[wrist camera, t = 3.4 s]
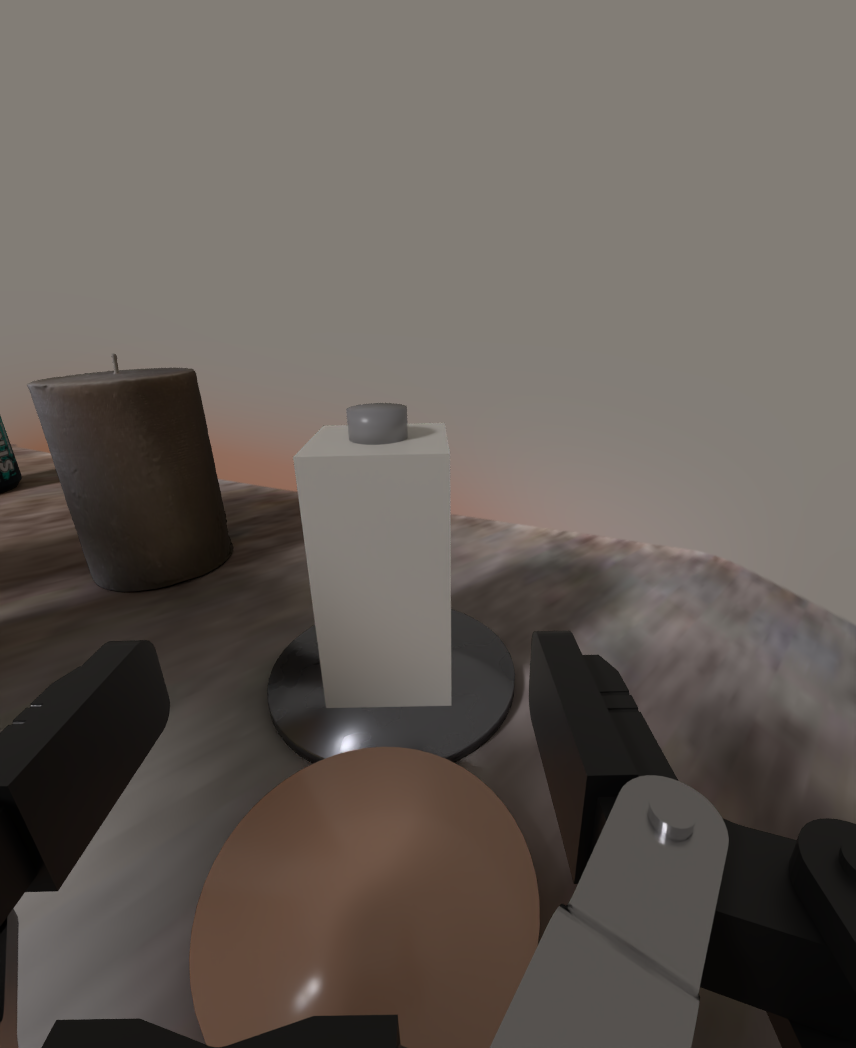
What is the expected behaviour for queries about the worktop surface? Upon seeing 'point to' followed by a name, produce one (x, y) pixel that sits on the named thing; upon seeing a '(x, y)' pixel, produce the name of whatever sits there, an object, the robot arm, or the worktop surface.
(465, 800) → the coaster
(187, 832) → the worktop surface
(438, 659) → the white block with knob
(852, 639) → the worktop surface
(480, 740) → the black glossy disc
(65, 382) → the pillar candle
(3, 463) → the beverage can
